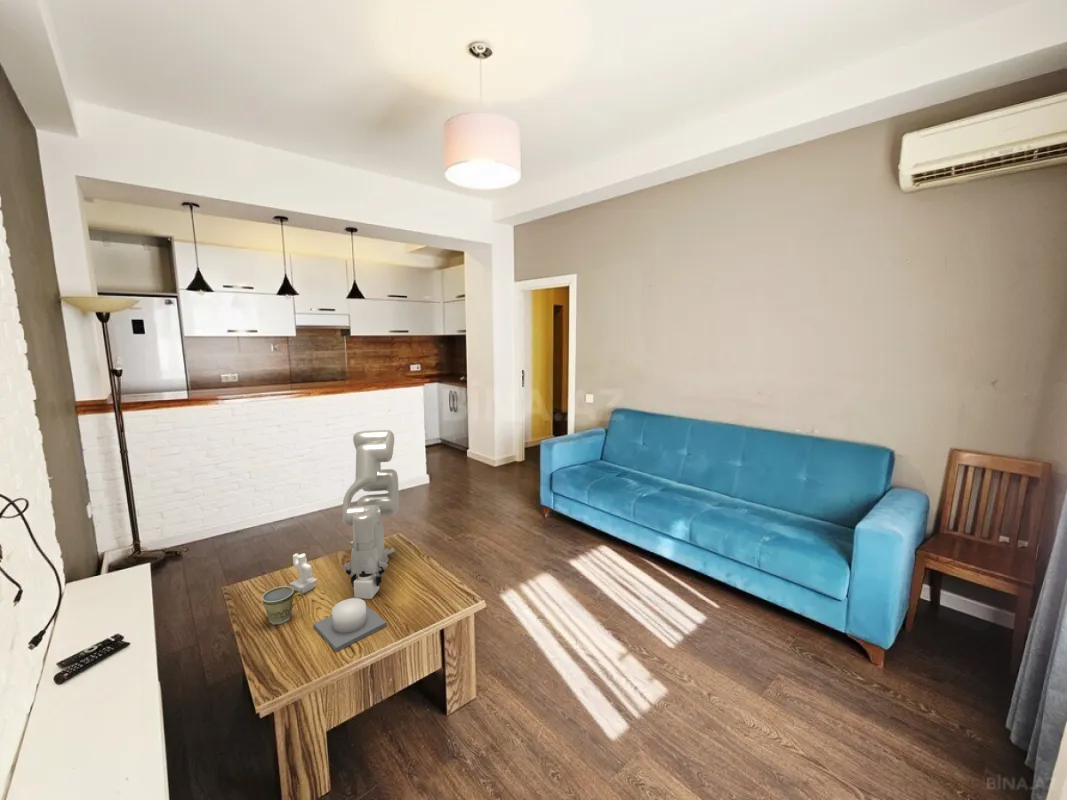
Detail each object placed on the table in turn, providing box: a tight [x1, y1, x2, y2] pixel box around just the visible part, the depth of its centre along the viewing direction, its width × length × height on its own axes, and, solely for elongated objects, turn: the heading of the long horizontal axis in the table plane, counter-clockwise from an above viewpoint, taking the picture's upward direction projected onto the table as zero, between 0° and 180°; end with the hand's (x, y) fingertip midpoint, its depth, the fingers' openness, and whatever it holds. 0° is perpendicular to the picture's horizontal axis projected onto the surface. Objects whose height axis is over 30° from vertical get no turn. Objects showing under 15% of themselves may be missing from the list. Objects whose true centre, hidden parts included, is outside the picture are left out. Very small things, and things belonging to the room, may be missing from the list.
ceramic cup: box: [261, 585, 304, 626], centre depth 164 cm, size 13×10×10 cm
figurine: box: [289, 552, 318, 595], centre depth 182 cm, size 7×9×15 cm
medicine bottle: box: [353, 571, 380, 600], centre depth 179 cm, size 7×7×12 cm
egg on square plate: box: [313, 597, 387, 653], centre depth 159 cm, size 18×18×8 cm
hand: (366, 584), depth 179 cm, fingers open, 9 cm apart
